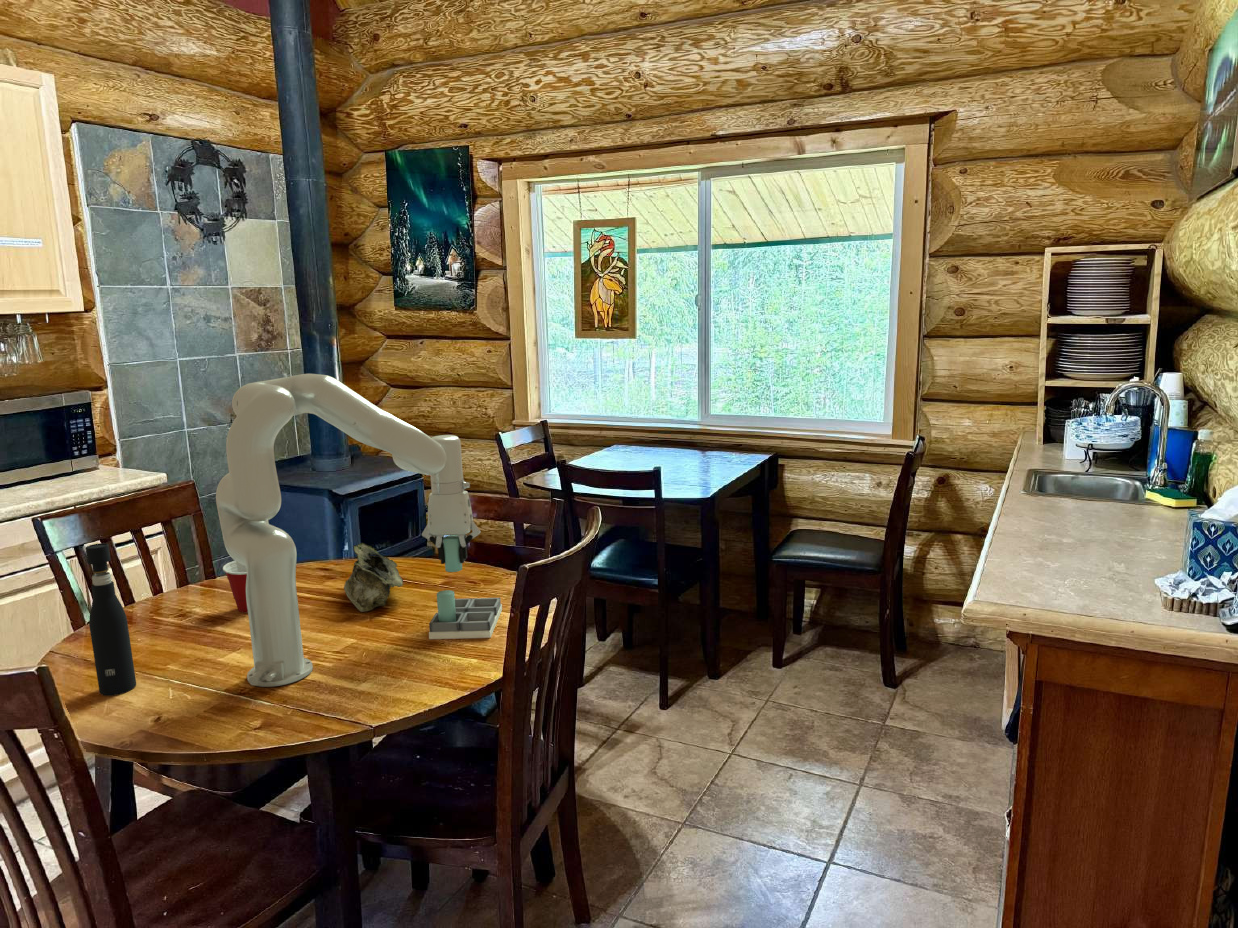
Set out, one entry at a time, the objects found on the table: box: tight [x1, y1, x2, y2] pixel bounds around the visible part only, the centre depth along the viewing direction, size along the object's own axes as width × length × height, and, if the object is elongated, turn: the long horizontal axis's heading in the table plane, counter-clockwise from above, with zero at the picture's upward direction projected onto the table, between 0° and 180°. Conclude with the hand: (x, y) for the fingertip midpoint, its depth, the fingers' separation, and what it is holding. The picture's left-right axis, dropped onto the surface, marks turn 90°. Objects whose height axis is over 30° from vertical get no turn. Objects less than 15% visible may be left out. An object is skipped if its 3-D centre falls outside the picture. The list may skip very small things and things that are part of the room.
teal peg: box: [443, 535, 463, 573], centre depth 199 cm, size 4×4×8 cm
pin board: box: [428, 589, 503, 640], centre depth 196 cm, size 18×14×10 cm
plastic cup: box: [222, 560, 248, 614], centre depth 211 cm, size 11×11×12 cm
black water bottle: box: [85, 542, 137, 697], centre depth 165 cm, size 6×6×30 cm
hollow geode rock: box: [343, 542, 404, 613], centre depth 218 cm, size 28×13×15 cm
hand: (453, 561), depth 199 cm, fingers closed on teal peg, 4 cm apart
